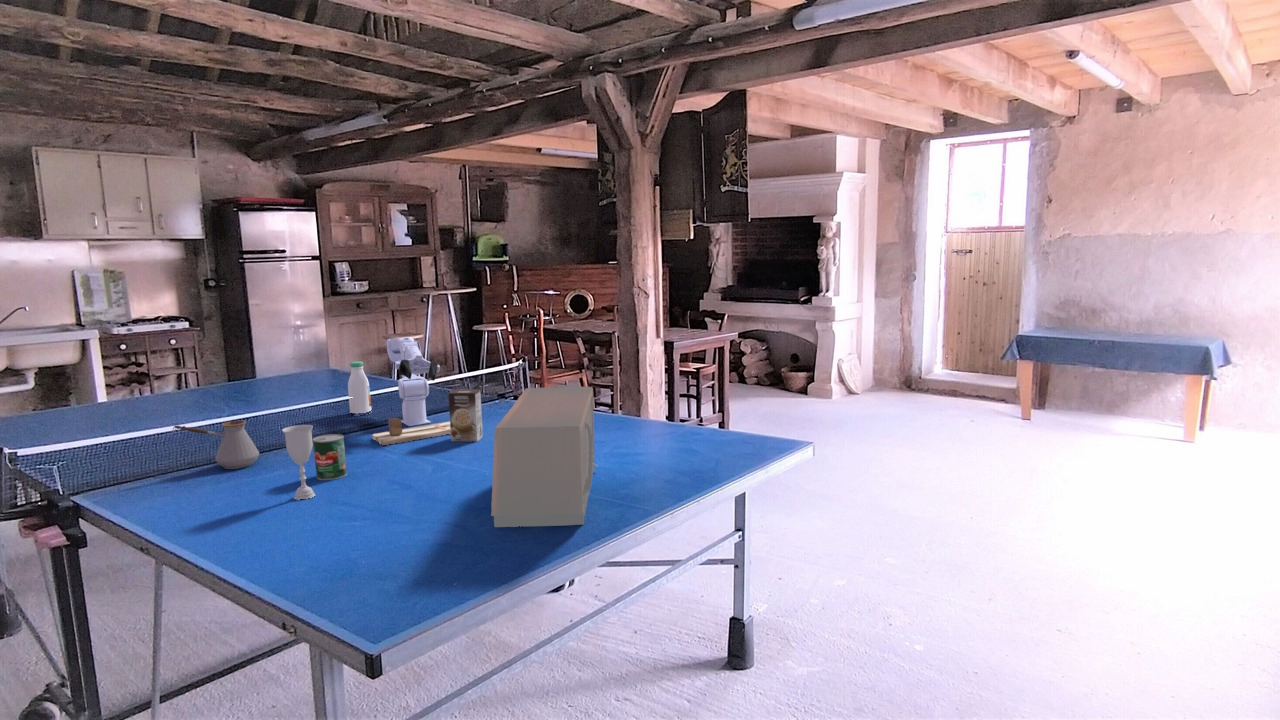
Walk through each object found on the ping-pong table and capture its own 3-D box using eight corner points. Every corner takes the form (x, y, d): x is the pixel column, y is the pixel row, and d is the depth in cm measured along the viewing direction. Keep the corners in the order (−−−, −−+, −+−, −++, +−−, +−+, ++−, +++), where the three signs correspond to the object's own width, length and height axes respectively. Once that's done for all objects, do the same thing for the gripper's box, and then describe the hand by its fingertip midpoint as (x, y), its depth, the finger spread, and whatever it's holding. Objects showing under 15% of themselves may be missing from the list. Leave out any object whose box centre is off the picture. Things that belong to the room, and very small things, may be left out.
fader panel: (372, 438, 247) (372, 434, 246) (453, 424, 263) (452, 420, 263) (383, 446, 237) (383, 441, 237) (466, 431, 253) (466, 426, 253)
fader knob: (389, 433, 246) (388, 419, 245) (398, 431, 247) (397, 417, 247) (393, 435, 243) (392, 421, 242) (402, 434, 244) (401, 419, 244)
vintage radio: (522, 469, 208) (519, 387, 204) (603, 469, 207) (601, 386, 204) (485, 532, 164) (479, 427, 160) (587, 531, 163) (584, 426, 159)
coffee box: (450, 441, 240) (446, 393, 238) (456, 436, 246) (453, 389, 244) (477, 441, 239) (474, 392, 237) (483, 436, 245) (480, 388, 243)
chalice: (299, 503, 185) (292, 433, 183) (283, 498, 189) (276, 429, 186) (325, 494, 192) (319, 426, 189) (309, 490, 195) (302, 423, 192)
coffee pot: (252, 457, 228) (247, 409, 226) (266, 464, 220) (260, 415, 218) (173, 473, 213) (166, 422, 211) (184, 482, 205) (177, 429, 203)
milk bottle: (367, 415, 281) (362, 363, 278) (347, 416, 281) (342, 364, 278) (374, 411, 289) (370, 360, 286) (355, 411, 289) (350, 360, 286)
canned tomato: (347, 470, 212) (343, 432, 211) (347, 477, 205) (343, 439, 203) (317, 473, 210) (313, 436, 208) (315, 482, 202) (311, 442, 201)
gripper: (395, 347, 251) (401, 364, 240) (438, 351, 258) (446, 367, 247) (391, 366, 254) (397, 383, 243) (434, 370, 261) (442, 386, 250)
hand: (422, 376), depth 245 cm, fingers open, 7 cm apart
